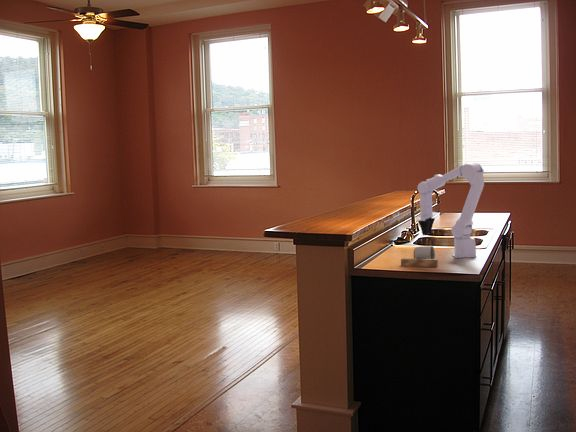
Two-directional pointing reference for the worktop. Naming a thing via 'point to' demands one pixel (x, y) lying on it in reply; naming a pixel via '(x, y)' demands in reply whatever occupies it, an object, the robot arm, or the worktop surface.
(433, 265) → the rail
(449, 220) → the worktop surface
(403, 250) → the worktop surface
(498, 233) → the worktop surface
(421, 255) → the ceramic mug
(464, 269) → the worktop surface
